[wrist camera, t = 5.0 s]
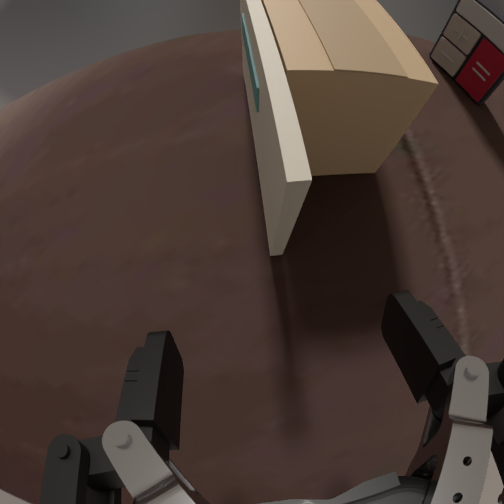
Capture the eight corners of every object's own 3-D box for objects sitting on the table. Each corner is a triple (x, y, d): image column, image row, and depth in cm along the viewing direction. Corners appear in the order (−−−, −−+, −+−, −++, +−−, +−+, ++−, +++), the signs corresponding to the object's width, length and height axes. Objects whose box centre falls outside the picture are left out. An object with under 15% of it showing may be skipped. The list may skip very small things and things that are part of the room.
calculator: (425, 56, 31) (461, -12, 17) (437, 53, 32) (471, -10, 17) (477, 107, 29) (527, 45, 14) (485, 101, 30) (532, 44, 15)
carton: (375, 173, 26) (440, 82, 13) (273, 179, 26) (287, 68, 13) (338, 73, 29) (363, -15, 16) (254, 74, 29) (254, -23, 16)
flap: (282, 254, 24) (312, 180, 11) (268, 256, 24) (283, 182, 11) (252, 72, 29) (251, -26, 16) (241, 72, 29) (237, -25, 16)
